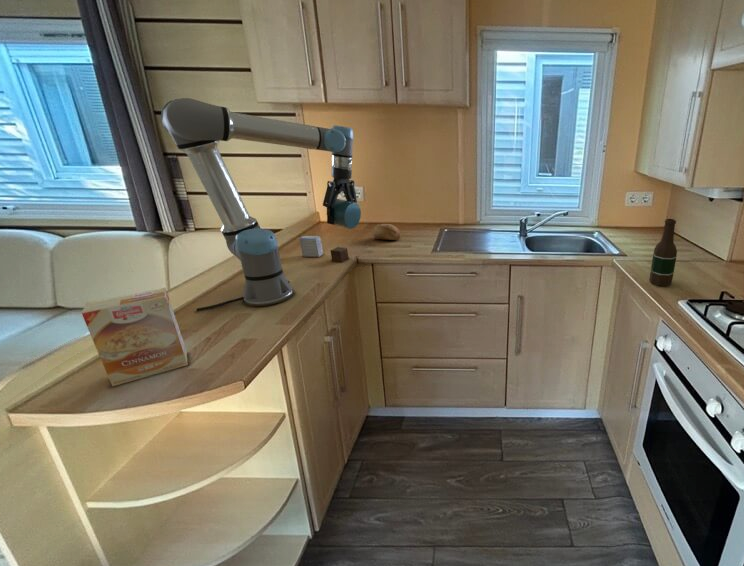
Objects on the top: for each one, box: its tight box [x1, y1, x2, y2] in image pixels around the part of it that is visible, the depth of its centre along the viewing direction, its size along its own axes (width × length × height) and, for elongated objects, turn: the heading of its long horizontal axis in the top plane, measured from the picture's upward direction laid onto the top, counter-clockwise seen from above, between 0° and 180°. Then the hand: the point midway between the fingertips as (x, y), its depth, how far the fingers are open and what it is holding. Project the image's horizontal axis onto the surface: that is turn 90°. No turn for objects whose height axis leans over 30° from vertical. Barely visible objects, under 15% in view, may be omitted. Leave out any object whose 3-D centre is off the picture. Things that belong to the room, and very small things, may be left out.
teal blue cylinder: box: [330, 198, 362, 230], centre depth 165 cm, size 11×11×8 cm
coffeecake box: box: [81, 287, 188, 387], centre depth 98 cm, size 15×7×20 cm, turn 126°
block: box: [330, 246, 349, 263], centre depth 177 cm, size 5×5×5 cm
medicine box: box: [298, 235, 324, 258], centre depth 182 cm, size 8×4×9 cm, turn 84°
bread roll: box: [372, 223, 402, 241], centre depth 206 cm, size 10×15×8 cm, turn 72°
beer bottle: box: [649, 218, 678, 288], centre depth 146 cm, size 8×8×24 cm
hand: (340, 221), depth 167 cm, fingers closed on teal blue cylinder, 11 cm apart
